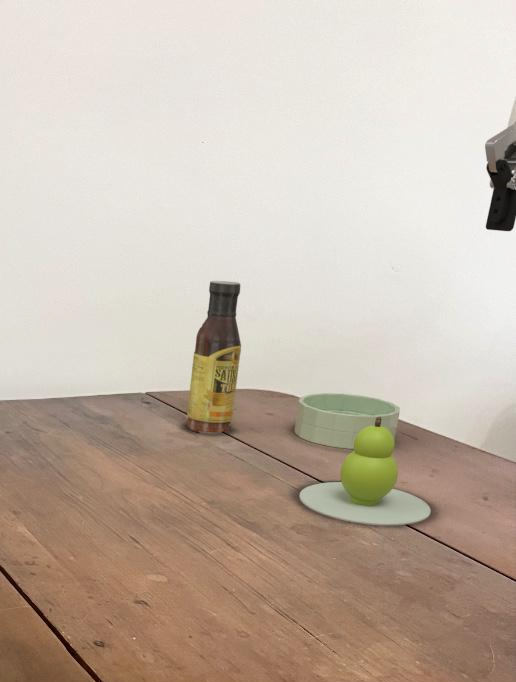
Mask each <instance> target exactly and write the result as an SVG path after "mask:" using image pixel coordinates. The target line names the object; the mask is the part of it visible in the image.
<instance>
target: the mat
mask: <svg viewBox="0 0 516 682" xmlns="http://www.w3.org/2000/svg"><path fill="white" fill-rule="evenodd" d="M350 496H351V495H349V494H348V493H347V492H346V490H345V489H344V487H343V485H342V483H341V481H332V482H331V481H329V482H320V483H314V484H311V485H308V486H306V487H304V488H303V489H302V490H301V491H300V492H299V501H301V503H302V504H303V505H304V506H305V507H307V509H308V508H309V509H310V510H312V511H314V512H316V513H319V514H321V515H324V516H326V517H330V518H333V519H336V520H341V521H346V522H350V523H356V524H363V525H373V526H406V525H412V524H417V523H421V522H423V521H425V520H427V519H428V518H430V515H431V512H432V510H431V507H430V506H429V504H428V503H427V502H426V501H424V500H423V499H421V498H419V497H417V496H415V495H413V494H410V493H408V492H405V491H403V490H399V489H395V488H393V489H392V490H391V491H390V492H389V493H388V494H387V495H386V496H384V497H382V498H380V499H379V500H378V504H376V505H373V506H365V505H359V504H355V503H353V502H351V501H350Z"/></svg>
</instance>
